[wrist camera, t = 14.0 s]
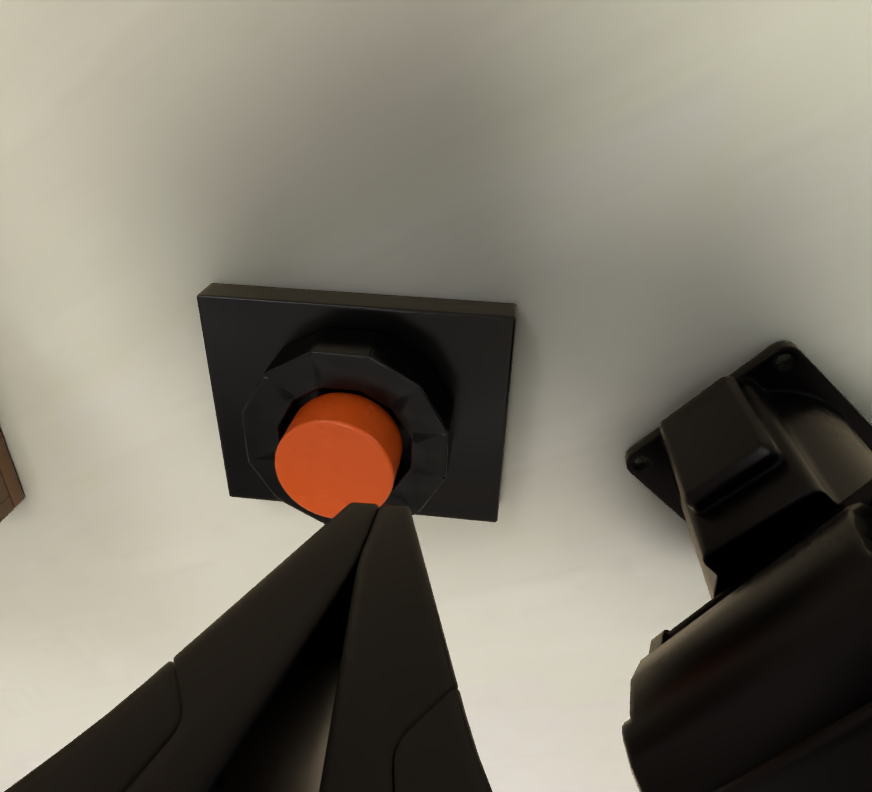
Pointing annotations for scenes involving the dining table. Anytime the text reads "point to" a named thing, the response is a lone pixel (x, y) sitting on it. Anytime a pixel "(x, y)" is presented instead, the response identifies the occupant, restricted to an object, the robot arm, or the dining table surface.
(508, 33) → the dining table surface
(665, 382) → the dining table surface
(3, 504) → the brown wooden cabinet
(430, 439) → the black button base
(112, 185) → the dining table surface
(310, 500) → the button
